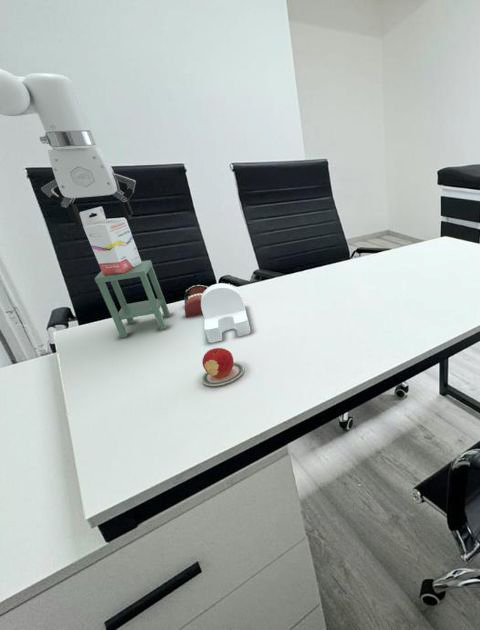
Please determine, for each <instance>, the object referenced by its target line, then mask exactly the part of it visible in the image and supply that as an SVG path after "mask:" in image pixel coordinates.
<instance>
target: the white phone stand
mask: <svg viewBox="0 0 480 630" xmlns="http://www.w3.org/2000/svg"><path fill="white" fill-rule="evenodd" d="M207 287H208V288H207V289H206V290H205V291H204V292H203V294H202V298H201V309H202V316H203V320H204V322H203V325H204V326H203V327H204V328H203V329H204V332H205V334H206V337H207V338H206V339H207V341H208V343H211V344H213V343H217V342H221V341H223V333H224V332H226V331H229V330H236V335H237V337H242V336H247V335H248V334H249V335H250V334H251V332H252V331H251V326H250V322H249V318H248V314H247V309H246V306H245V302H244V298H243V296H242V294H241V292H240V291H239V290H238V289H237V287H235V286H234V285H231V284H229V283H225V282H224V283H223V282H222V283H221V282H220V283H215V284H212V285H210V286H207Z"/></svg>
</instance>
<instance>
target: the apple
mask: <svg viewBox="0 0 480 630" xmlns="http://www.w3.org/2000/svg"><path fill="white" fill-rule="evenodd" d="M201 362H202V367H203V369H204V371H205V372H204V373H203V375H201V382H202V384H204V385H205V386H210V387H215V386H216V387H217V386H222V385H226V384H229V383H231V382H234V381H235V380H237V379H238V378H240V377H241V376H242V375H243V374H244V371H245V368H244V365H242V364H241V363H240V362H239V363H238V362H235V361H234V357H233V355H232V353H231V351H229V350H228V349H226V348H222V347H216V348H212V349H209V350H207V351H206V352H205V353H204V355H203V357H202V361H201Z"/></svg>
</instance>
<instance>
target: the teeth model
mask: <svg viewBox="0 0 480 630" xmlns="http://www.w3.org/2000/svg"><path fill="white" fill-rule="evenodd" d="M208 287H209V286H207V285H204V284H203V285H201V284H197V285H192V286H191V287H188V289H186V290H185V293H184V299H183V300H184V315H185V317H186V318H187V317H194V316H198V315H203V313H202V309H201V298H202V294H203V292H204V291H205V290H206V289H207V288H208Z"/></svg>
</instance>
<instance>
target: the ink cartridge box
mask: <svg viewBox="0 0 480 630" xmlns="http://www.w3.org/2000/svg"><path fill="white" fill-rule="evenodd" d="M79 213H80V217H81V221H82V223H81V224H82V228H83V231H84V233H85V235H86V237H87V239H88V241H89V244H90V246H91V249H92V252H93V253H94V256H95V259H96V261H97V264H98V265H99V268H100V272H101V271H102V273H103V275H106V274H121V273H125V272H127V271H128V270H130V269H132V268H134V267H136V266H137V265H139V264H141V263H142V262H141V261H142V258H141V256H140V254H139V251H138V247H137V245H136V242H135V239H134V237H133V234H132V231H131V228H130V226H129V223H128V220H127V219H125V217H115V218H114V217H113V218H106V214H105V211H104V208H103V206H98V207H93V208H90V209H86V210H83V211H79ZM93 214H96V215H95V216H92V215H93ZM90 216H91V217H90Z"/></svg>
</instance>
